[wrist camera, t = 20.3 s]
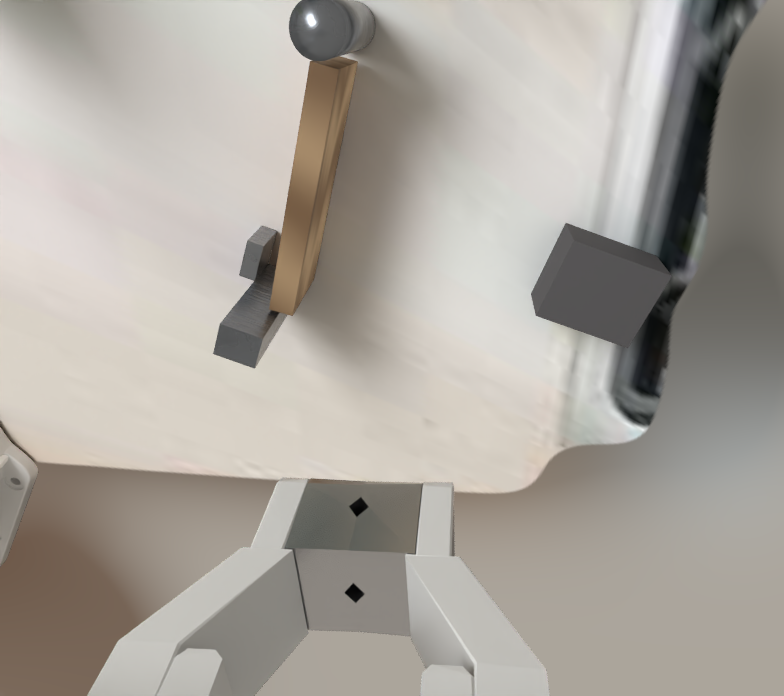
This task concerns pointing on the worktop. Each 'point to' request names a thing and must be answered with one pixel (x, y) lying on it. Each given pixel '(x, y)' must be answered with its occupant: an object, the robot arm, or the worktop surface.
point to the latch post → (252, 306)
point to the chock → (598, 285)
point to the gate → (312, 179)
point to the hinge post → (330, 28)
